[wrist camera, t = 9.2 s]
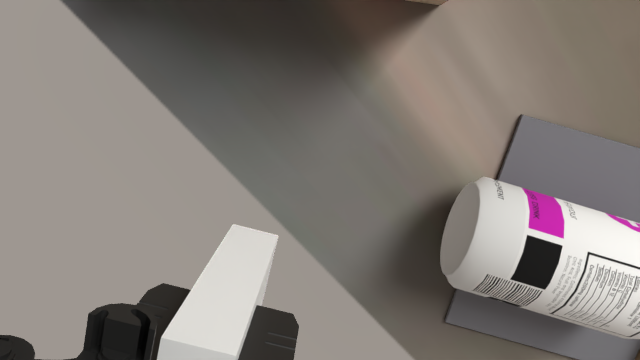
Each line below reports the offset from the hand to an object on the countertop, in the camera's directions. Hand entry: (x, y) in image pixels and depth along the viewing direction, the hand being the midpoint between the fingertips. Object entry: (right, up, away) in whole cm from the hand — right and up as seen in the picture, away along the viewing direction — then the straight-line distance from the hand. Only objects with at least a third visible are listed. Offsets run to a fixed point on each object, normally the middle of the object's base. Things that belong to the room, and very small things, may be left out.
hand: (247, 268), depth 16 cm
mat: (+23, -3, +24) cm, 34 cm away
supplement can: (+12, -1, +20) cm, 23 cm away
